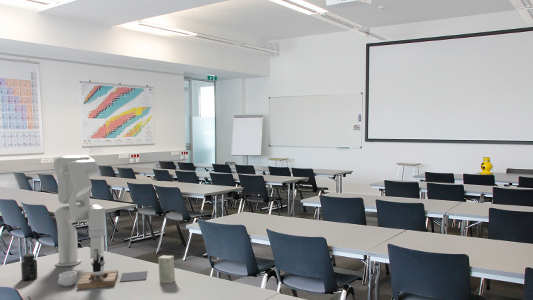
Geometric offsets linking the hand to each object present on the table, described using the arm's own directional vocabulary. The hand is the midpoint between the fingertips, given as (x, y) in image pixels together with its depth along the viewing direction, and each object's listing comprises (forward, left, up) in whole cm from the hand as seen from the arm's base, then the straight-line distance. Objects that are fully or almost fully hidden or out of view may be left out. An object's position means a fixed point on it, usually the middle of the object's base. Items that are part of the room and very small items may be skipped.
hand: (98, 268), depth 204 cm
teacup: (+1, -14, -7) cm, 16 cm away
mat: (-3, +16, -7) cm, 17 cm away
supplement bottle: (-13, -34, -7) cm, 37 cm away
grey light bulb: (0, 0, -7) cm, 7 cm away
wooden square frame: (0, 0, -7) cm, 7 cm away
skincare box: (+8, +32, -7) cm, 33 cm away
